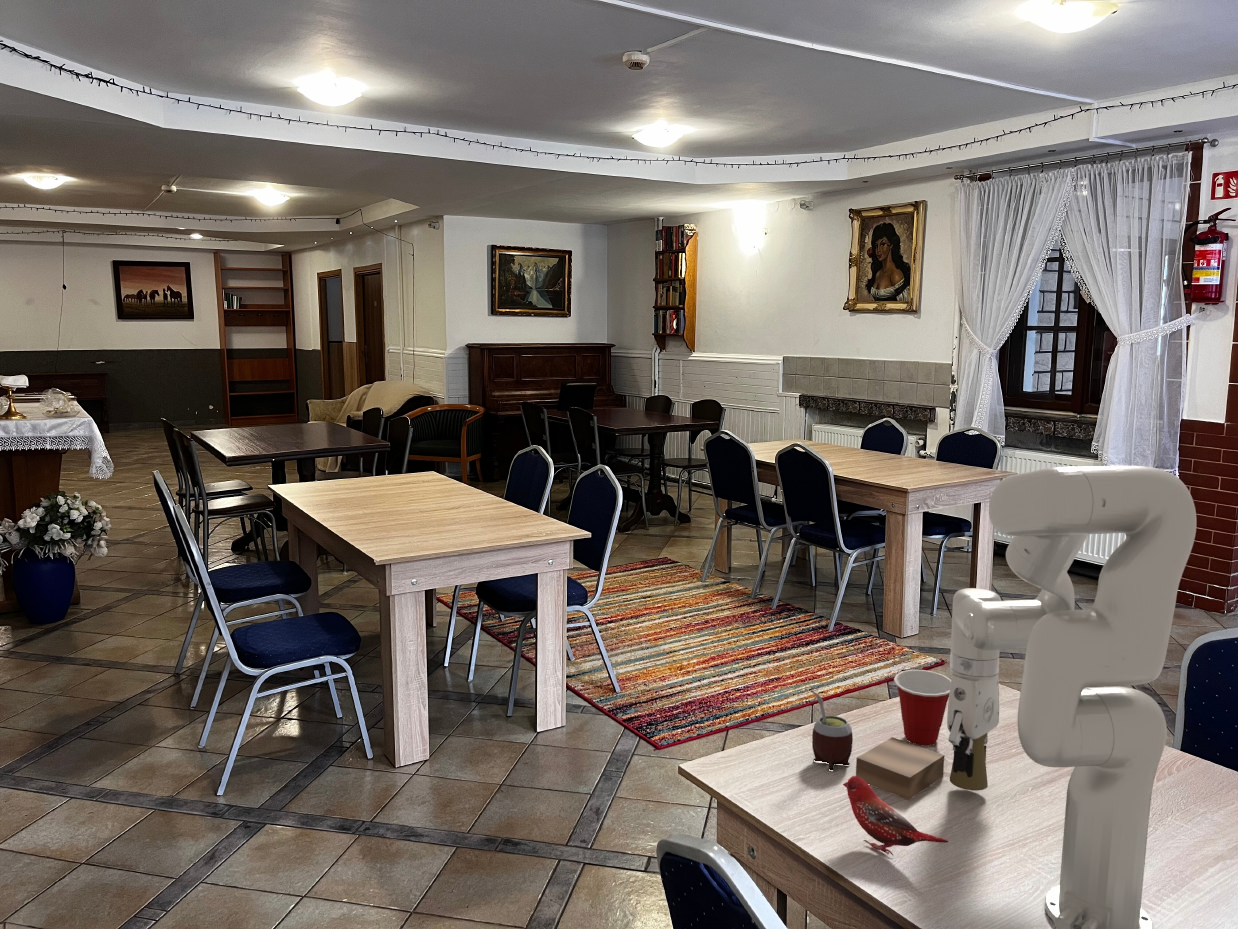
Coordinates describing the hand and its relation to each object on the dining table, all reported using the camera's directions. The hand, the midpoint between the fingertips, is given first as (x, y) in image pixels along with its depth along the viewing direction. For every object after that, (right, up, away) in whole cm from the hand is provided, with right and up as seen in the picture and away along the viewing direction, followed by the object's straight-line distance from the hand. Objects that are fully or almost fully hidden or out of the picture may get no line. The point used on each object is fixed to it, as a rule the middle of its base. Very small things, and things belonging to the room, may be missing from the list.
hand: (969, 769), depth 154 cm
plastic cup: (-1, -2, +21) cm, 21 cm away
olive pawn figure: (0, -2, 0) cm, 3 cm away
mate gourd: (-21, -3, +11) cm, 24 cm away
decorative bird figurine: (-19, -7, -19) cm, 27 cm away
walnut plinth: (-10, -3, +6) cm, 12 cm away
